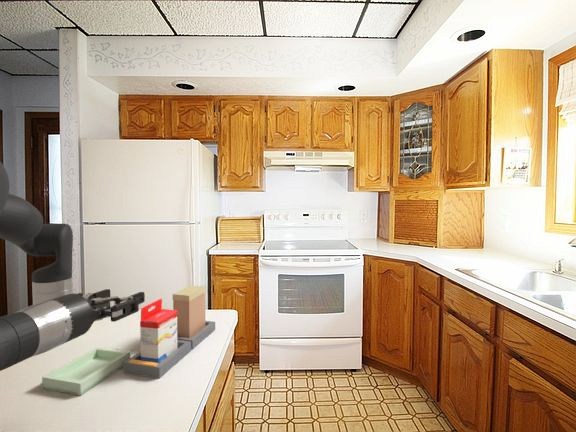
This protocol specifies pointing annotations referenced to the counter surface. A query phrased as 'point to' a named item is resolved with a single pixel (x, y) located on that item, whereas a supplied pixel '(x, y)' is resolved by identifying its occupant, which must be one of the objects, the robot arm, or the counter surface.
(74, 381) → the tray
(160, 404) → the counter surface
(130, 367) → the grey holder frame
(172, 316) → the ink box
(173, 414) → the counter surface
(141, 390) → the counter surface
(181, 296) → the cartridge
